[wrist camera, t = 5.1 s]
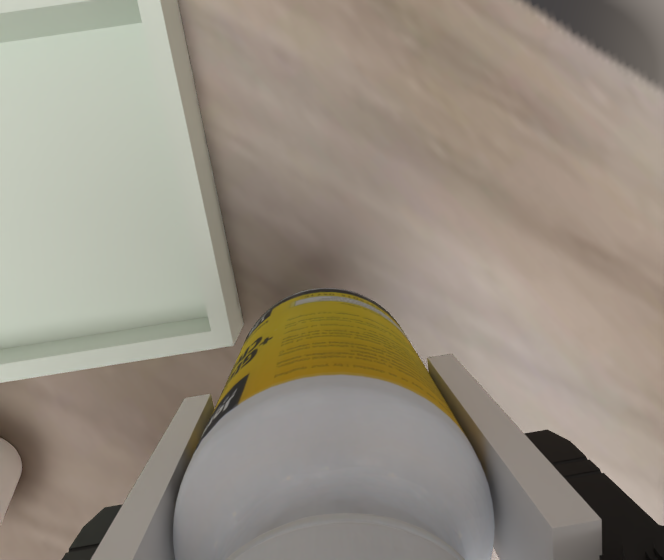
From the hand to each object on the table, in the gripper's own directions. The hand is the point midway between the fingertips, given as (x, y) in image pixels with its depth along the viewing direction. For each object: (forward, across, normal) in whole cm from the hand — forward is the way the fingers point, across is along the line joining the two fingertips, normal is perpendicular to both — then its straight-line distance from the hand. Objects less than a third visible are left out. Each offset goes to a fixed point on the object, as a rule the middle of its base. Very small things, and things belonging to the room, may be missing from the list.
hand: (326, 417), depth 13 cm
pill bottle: (+4, 0, 0) cm, 4 cm away
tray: (+14, -14, +8) cm, 21 cm away
